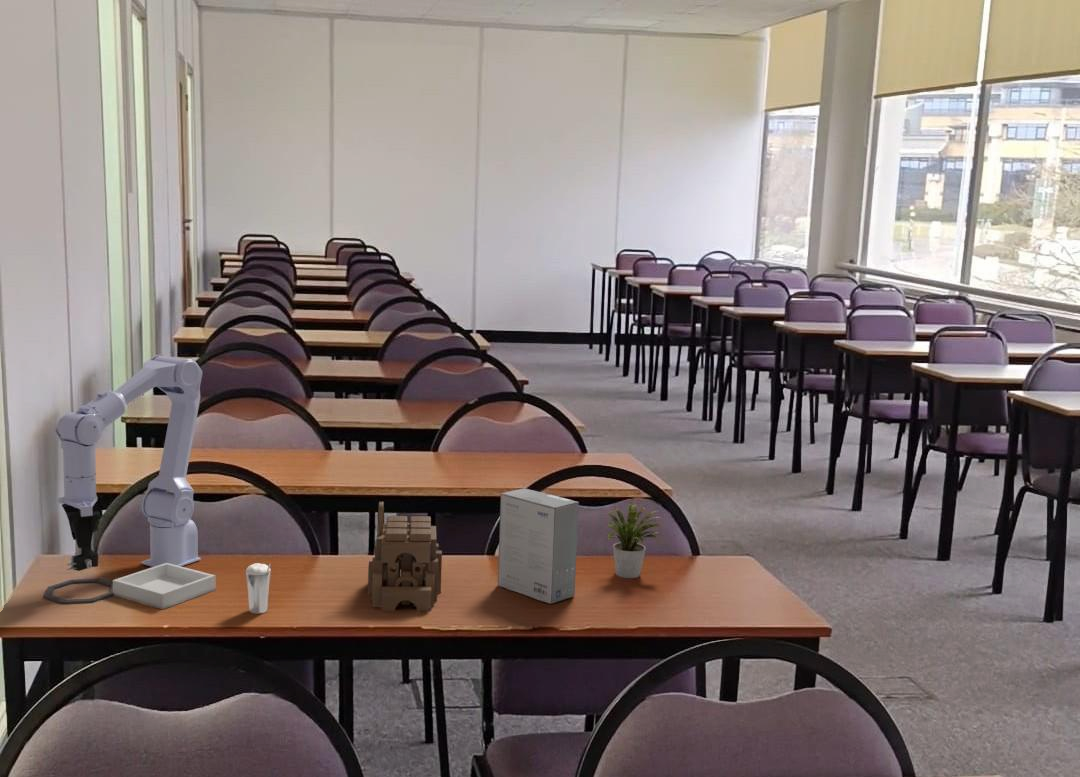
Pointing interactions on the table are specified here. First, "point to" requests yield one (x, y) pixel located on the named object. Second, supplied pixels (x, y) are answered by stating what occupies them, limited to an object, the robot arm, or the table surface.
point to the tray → (164, 585)
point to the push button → (84, 555)
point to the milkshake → (258, 587)
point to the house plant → (630, 541)
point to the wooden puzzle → (405, 563)
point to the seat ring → (49, 596)
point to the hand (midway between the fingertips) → (81, 543)
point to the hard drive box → (538, 545)
